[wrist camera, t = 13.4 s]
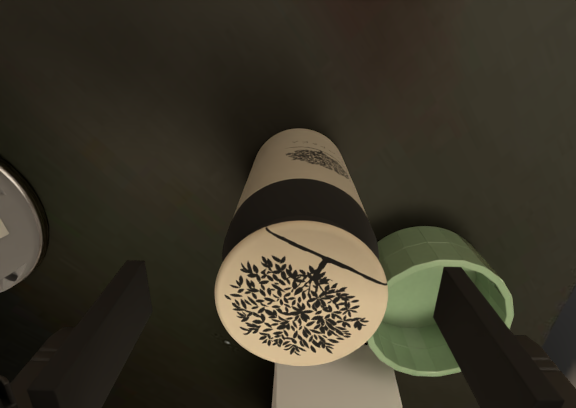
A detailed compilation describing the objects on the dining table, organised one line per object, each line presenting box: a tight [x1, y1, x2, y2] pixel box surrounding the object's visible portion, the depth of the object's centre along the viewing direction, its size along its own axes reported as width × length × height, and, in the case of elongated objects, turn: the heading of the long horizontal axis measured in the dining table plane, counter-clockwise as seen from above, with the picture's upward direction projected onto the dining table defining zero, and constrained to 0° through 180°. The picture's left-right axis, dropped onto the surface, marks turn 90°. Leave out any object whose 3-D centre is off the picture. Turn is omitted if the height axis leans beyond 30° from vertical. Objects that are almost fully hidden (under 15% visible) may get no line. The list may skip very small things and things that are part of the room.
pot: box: [367, 226, 514, 377], centre depth 34 cm, size 12×12×6 cm
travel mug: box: [215, 128, 388, 366], centre depth 24 cm, size 8×8×18 cm
